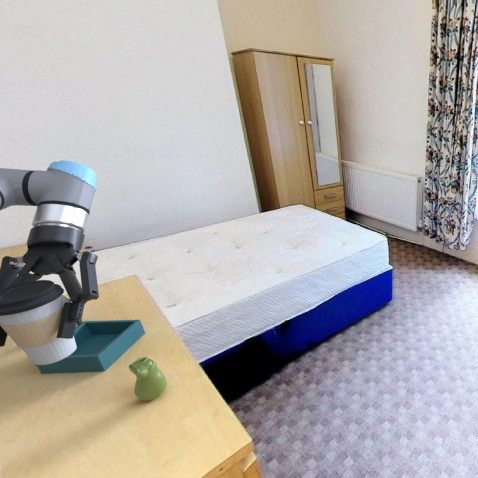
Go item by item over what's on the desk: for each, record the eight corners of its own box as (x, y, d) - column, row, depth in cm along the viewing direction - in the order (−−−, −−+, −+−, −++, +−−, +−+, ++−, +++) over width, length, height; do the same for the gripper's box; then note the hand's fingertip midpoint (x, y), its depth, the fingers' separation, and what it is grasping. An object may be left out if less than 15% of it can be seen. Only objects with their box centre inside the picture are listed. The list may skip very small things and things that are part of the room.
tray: (41, 373, 74) (32, 358, 72) (91, 334, 87) (84, 320, 85) (104, 371, 76) (97, 356, 74) (145, 333, 88) (140, 319, 86)
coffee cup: (40, 343, 66) (6, 281, 60) (98, 334, 69) (71, 274, 64) (5, 378, 58) (-39, 310, 52) (73, 365, 61) (38, 300, 55)
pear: (174, 391, 71) (161, 357, 67) (146, 410, 67) (130, 374, 63) (161, 381, 74) (148, 348, 70) (133, 398, 69) (117, 363, 65)
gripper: (133, 234, 73) (116, 335, 65) (7, 240, 67) (-28, 352, 59) (111, 220, 66) (89, 331, 58) (-31, 226, 60) (-77, 350, 53)
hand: (30, 341), depth 59 cm, fingers closed on coffee cup, 9 cm apart
